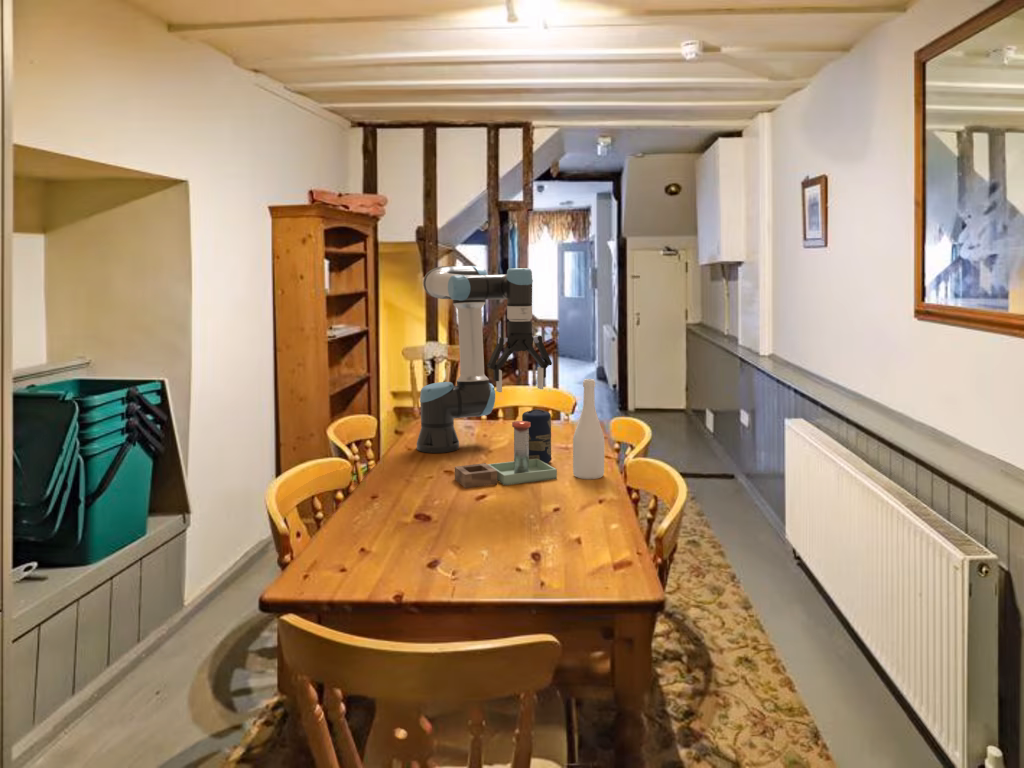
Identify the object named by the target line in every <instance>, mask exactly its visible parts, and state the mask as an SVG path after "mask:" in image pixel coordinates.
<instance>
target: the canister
mask: <svg viewBox="0 0 1024 768" xmlns="http://www.w3.org/2000/svg"><path fill="white" fill-rule="evenodd" d="M521 418H522V420H521V421H528V422H531V427H529V460H530V459H539V460H541V461H543V462H544V463H546V464H549V463H550V462H551V461H552V414H551V413H550V412H549V411H546V410H543V409H537V408H536V409H535V408H534V409H530V410H528V411H525V412H523V413H522V415H521Z"/></svg>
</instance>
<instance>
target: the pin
mask: <svg viewBox="0 0 1024 768" xmlns="http://www.w3.org/2000/svg"><path fill="white" fill-rule="evenodd" d="M511 423H512V425H511V426H512V428H513V461H514V474H516V473H525V472H529V427H531V422H528V421H522V420H516V421H512V422H511Z"/></svg>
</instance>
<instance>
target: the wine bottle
mask: <svg viewBox="0 0 1024 768" xmlns="http://www.w3.org/2000/svg"><path fill="white" fill-rule="evenodd" d="M582 387H583V405H582V411H581V413H580V417H579V418H578V421H577V422H578V423H577V425H576V428H575V430H574V434H573V437H572V440H573V441H572V472H573V475H574V477H576V478H579V479H580V480H597V479H600V478H602V477H603V476H604V474H605V436H604V431H603V429H602V427H601V426H602V425H601V422H600V420H599V417H598V414H597V411H596V405H595V404H596V403H595V401H596V400H595V388H596V381H595V379H593V378H585V379H583V381H582Z"/></svg>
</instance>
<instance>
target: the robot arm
mask: <svg viewBox="0 0 1024 768" xmlns="http://www.w3.org/2000/svg"><path fill="white" fill-rule="evenodd" d="M422 281H423V282H422V284H423V289H424V290H425V292H426V294H427V295H429V296H430V297H432V298H435V299H441V300H452V305H453V306H454V307H455V308H456V310H457V322H458V324H457V325H458V345H459V367H460V368H459V369H460V374H459V377H458V378H457V379H456V385H454V383H453V382H451V381H443V382H441V381H440V382H434V383H430V384H427V385H424V386H422V388H421V389H420V396H419V402H420V431H419V434H418V437H417V441H416V450H417V451H419V452H422V453H429V454H430V453H431V454H444V453H450V452H454V451H457V450H459V449H460V441H459V438H458V436H457V435H458V434H457V432H456V428H455V424H454V419H461V418H474V417H477V418H480V417H482V416H488V415H490V414H491V413H492V412H493V409H494V407H495V403H496V392H497V393H503V370H501V368H502V367H503V366H504V364H505V362H506V361H507V360H508V359H509V357H510V356H511V355H512V353H514V352H516V353H517V352H518V353H519V352H528V354H530V356H531V357H532V358H533V359H534V361H535V362H536V363H537V364H538V367H537V389H539V390H544V379H545V378H546V377H547V368H548V366H552V364H553V363H552V362H553V361H552V360H551V357H550V355H549V354H548V352H547V349H546V347H545V345H544V343H543V342H544V341H543V336H542V335H539V334H537V335H535V336H533V321H532V319H533V282H534V280H533V271H532V270H531V268H528V267H526V268H524V267H523V268H519V267H517V268H516V267H515V268H514V267H513V268H512V267H511V268H508V269H507V270H506V274H488V272H487V271H486V269H485V268H484V267H482V266H476V265H457V266H456V265H452V266H451V265H449V266H448V265H445V266H443V265H442V266H437V267H435V268H432V269H430V270H429V271H427V272H426V274H425V276H424V277H423V280H422ZM487 300H488V301H489V300H507V303H506V318H507V320H508V321H507V323H506V328H507V330H506V332H507V336H506V337H502V336H498V337H497V339H496V345H495V348H494V350H493V351H492V354H491V356H490V359H489V360H488V363H487V366H486V367H487V368H488V369H491V370H492V372H493V381H495V383H496V384H495V385H496V387H495V386H494V385H493V383H490V379H489V378H488V376H486V374H485V359H484V358H485V357H484V340H483V339H484V338H483V336H484V335H483V317H482V313H483V311H482V308H483V307H484V306H485V305H486V301H487ZM533 342H534V343H535V344H536V346H537V348H538V351H539V353H540V355H541V356H540V355H539V354H538V353H537V351H536V350H535V348H534V347H533V346H532V344H533ZM506 343H507V344H508V346H506V348H505V350H504V352H503V353H502V350H503V347H504V345H505V344H506ZM501 353H502V354H501ZM500 354H501V356H500ZM495 388H496V391H495Z"/></svg>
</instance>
